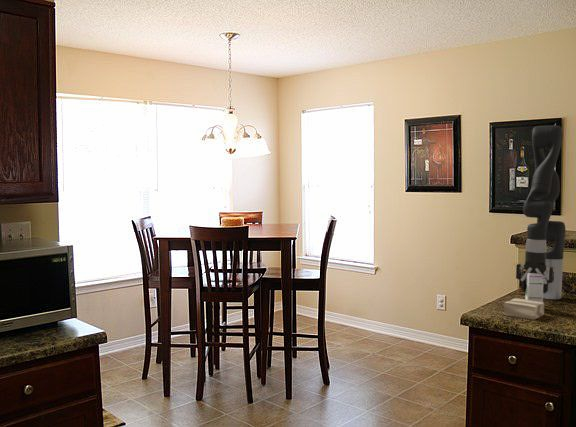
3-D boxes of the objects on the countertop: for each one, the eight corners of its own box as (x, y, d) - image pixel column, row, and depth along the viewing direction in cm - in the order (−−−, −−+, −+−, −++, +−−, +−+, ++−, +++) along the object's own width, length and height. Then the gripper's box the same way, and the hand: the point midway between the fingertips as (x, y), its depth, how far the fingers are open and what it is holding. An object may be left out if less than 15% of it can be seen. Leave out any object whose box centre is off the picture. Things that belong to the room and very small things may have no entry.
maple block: (514, 310, 229) (515, 297, 229) (543, 315, 222) (544, 302, 222) (504, 315, 221) (504, 302, 221) (533, 320, 214) (534, 307, 213)
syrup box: (542, 311, 227) (544, 274, 226) (526, 310, 229) (528, 273, 228) (539, 307, 233) (541, 271, 232) (524, 306, 234) (525, 271, 233)
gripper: (557, 251, 228) (555, 292, 229) (520, 247, 236) (518, 287, 238) (552, 253, 222) (550, 295, 223) (514, 249, 231) (512, 290, 232)
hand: (534, 291), depth 230 cm, fingers closed on syrup box, 7 cm apart
